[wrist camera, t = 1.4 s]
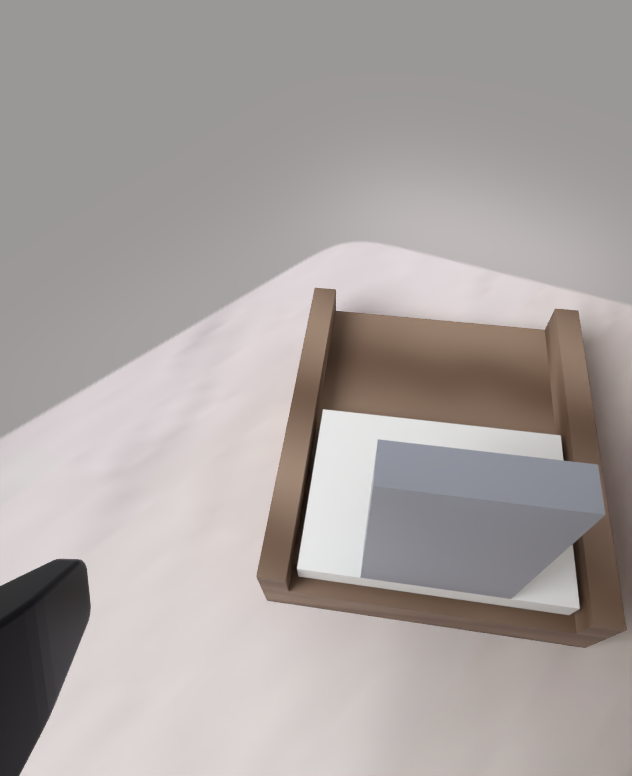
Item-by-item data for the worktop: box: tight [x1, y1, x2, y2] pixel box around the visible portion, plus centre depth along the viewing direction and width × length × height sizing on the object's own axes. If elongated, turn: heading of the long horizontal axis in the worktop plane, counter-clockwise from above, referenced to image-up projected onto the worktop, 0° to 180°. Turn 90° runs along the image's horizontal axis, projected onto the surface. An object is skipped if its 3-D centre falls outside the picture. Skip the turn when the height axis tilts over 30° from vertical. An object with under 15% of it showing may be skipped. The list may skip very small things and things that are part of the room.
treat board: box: [257, 288, 627, 648], centre depth 23 cm, size 14×12×4 cm
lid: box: [297, 409, 605, 615], centre depth 18 cm, size 6×9×9 cm
